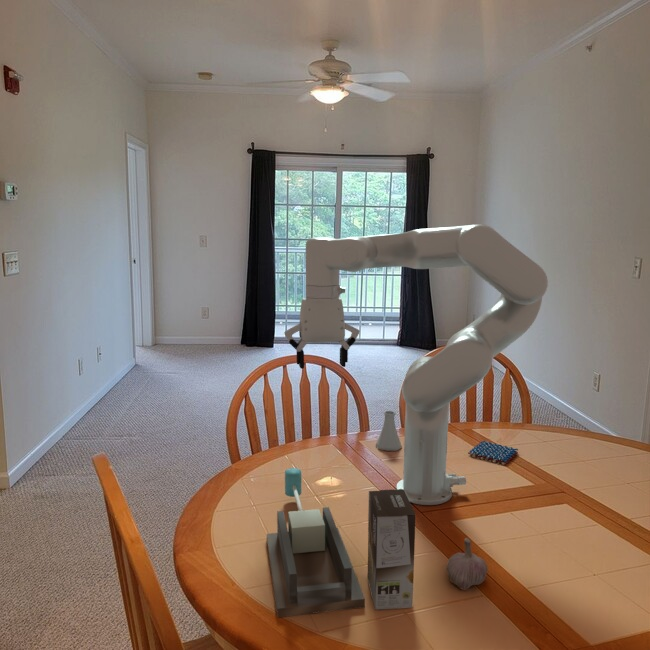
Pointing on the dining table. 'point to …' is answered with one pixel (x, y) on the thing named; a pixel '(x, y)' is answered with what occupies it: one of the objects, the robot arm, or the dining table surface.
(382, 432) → the flask
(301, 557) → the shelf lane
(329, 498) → the dining table surface
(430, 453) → the robot arm
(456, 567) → the garlic bulb
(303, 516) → the cube with teal knob
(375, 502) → the coffee box
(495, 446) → the woven mat
